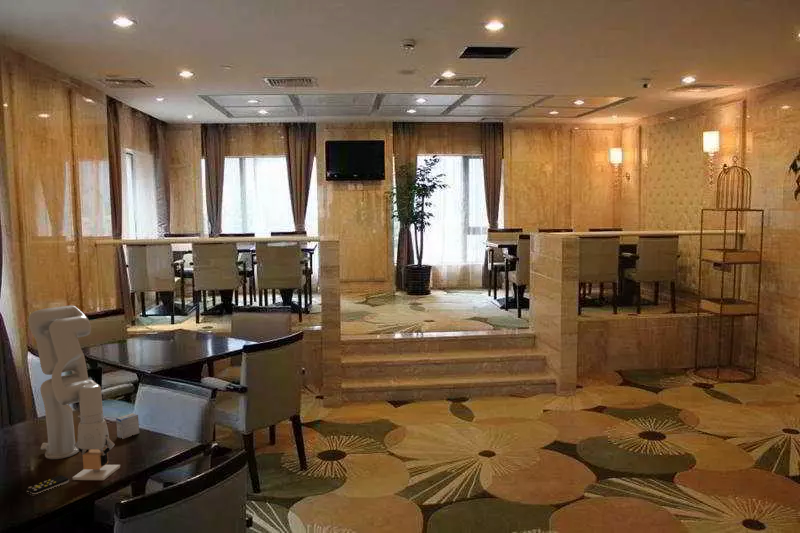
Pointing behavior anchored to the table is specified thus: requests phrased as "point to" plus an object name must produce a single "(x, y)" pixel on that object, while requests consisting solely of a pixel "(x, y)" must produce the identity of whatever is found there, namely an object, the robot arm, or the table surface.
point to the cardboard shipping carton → (92, 459)
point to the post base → (96, 473)
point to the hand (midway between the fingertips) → (96, 463)
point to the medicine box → (127, 425)
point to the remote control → (48, 484)
